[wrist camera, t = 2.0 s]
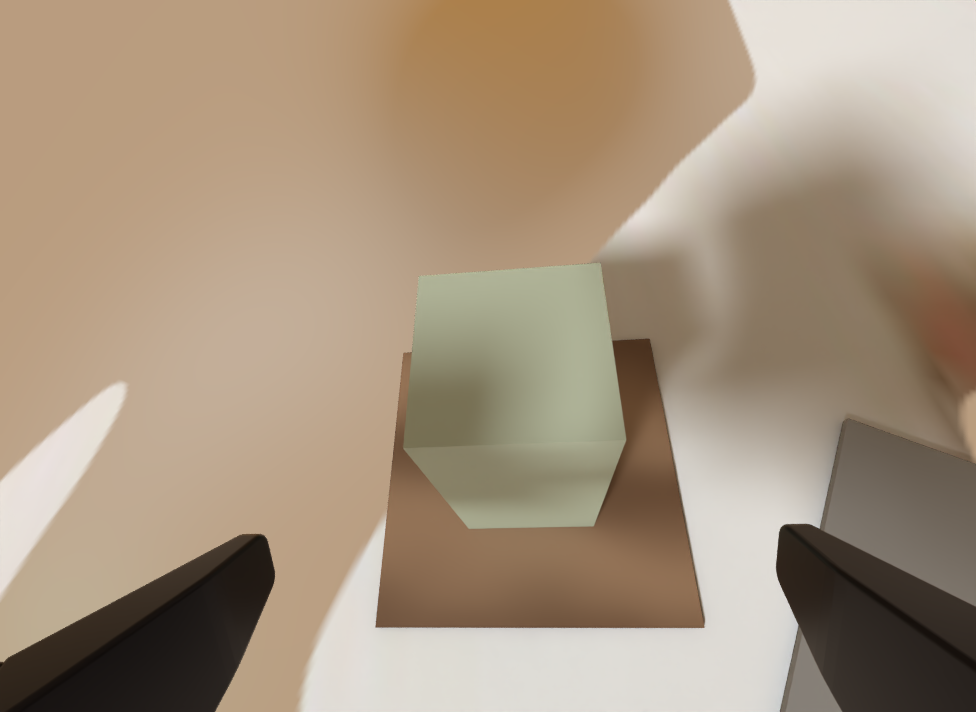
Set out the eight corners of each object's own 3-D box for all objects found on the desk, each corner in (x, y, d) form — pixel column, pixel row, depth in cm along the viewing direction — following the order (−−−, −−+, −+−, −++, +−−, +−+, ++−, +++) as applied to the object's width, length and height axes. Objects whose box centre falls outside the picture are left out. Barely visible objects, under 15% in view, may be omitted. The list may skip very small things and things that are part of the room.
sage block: (593, 526, 19) (626, 439, 11) (468, 528, 20) (402, 448, 11) (581, 409, 22) (600, 262, 13) (471, 414, 22) (419, 276, 14)
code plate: (703, 628, 17) (704, 627, 17) (377, 627, 19) (375, 627, 18) (648, 340, 23) (649, 338, 23) (404, 355, 25) (403, 352, 24)
